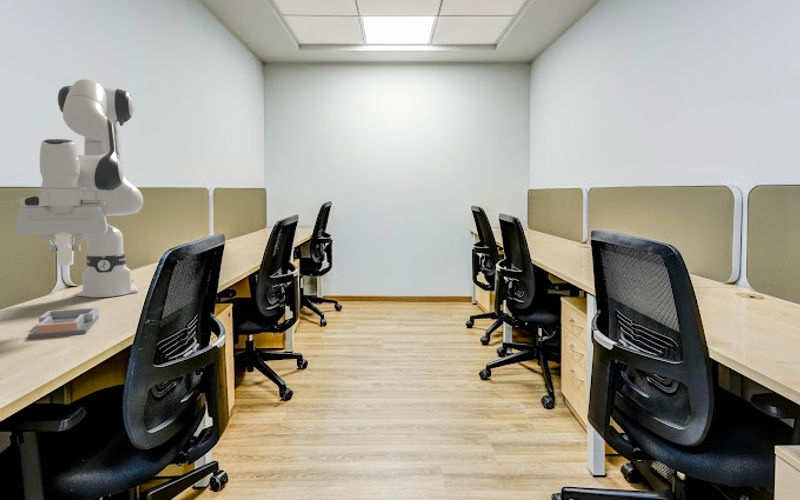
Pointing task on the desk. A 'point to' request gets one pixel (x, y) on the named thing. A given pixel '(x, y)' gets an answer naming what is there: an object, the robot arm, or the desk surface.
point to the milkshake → (64, 248)
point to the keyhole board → (65, 322)
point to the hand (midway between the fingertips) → (65, 251)
